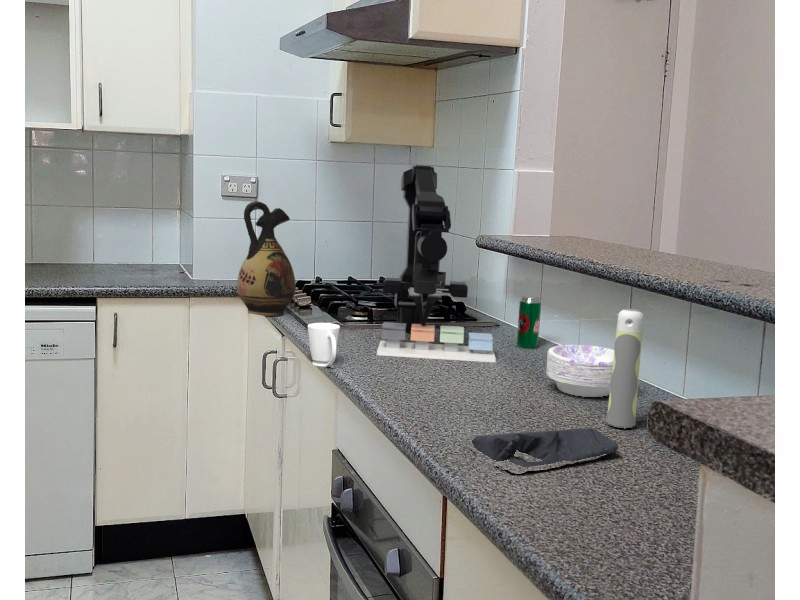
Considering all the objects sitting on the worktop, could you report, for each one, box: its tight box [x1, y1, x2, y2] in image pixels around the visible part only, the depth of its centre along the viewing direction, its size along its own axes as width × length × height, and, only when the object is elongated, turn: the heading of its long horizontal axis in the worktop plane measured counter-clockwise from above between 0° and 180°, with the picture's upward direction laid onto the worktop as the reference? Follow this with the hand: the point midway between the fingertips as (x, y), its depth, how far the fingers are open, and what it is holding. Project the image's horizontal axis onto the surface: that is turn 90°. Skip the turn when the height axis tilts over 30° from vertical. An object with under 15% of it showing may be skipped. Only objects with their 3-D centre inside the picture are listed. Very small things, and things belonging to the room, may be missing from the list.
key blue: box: [467, 332, 494, 351], centre depth 197 cm, size 5×5×3 cm
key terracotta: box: [410, 324, 436, 343], centre depth 197 cm, size 5×5×3 cm
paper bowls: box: [545, 344, 614, 398], centre depth 169 cm, size 15×15×8 cm
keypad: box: [376, 339, 497, 363], centre depth 197 cm, size 26×12×4 cm, turn 87°
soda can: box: [516, 295, 542, 350], centre depth 209 cm, size 5×5×12 cm
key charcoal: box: [381, 321, 407, 341], centre depth 197 cm, size 5×5×3 cm
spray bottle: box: [605, 308, 645, 427], centre depth 146 cm, size 5×5×20 cm
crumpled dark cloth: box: [472, 427, 620, 467], centre depth 132 cm, size 15×22×5 cm
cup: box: [307, 322, 341, 368], centre depth 179 cm, size 7×10×8 cm
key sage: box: [439, 325, 465, 344], centre depth 197 cm, size 5×5×3 cm
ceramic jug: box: [236, 200, 297, 317], centre depth 233 cm, size 17×15×30 cm
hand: (423, 325), depth 197 cm, fingers closed
